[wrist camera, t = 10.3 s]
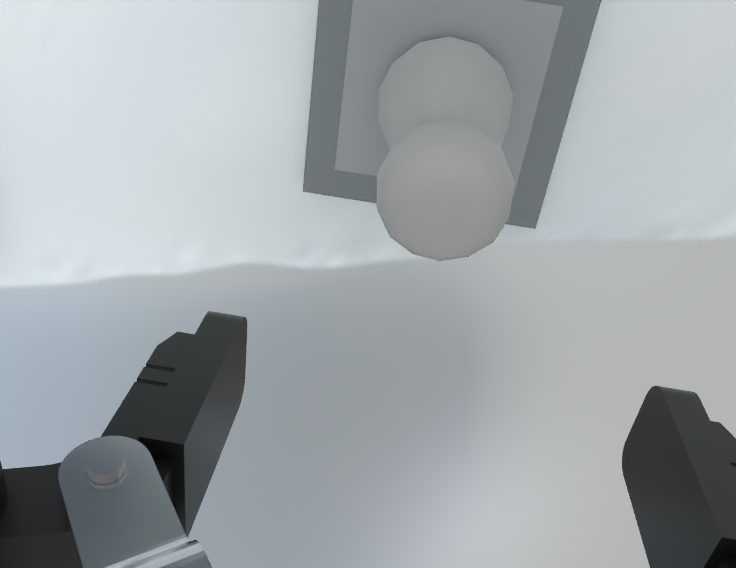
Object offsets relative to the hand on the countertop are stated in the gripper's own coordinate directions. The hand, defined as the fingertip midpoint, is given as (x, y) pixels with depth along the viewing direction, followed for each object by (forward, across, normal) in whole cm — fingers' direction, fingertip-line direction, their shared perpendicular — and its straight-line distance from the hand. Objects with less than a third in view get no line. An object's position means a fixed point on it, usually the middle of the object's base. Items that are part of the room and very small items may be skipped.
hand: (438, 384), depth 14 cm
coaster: (+22, 0, 0) cm, 22 cm away
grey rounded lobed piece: (+21, 0, 0) cm, 21 cm away
